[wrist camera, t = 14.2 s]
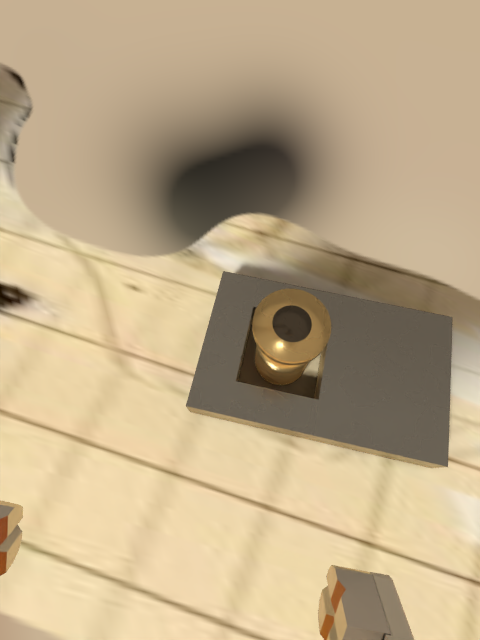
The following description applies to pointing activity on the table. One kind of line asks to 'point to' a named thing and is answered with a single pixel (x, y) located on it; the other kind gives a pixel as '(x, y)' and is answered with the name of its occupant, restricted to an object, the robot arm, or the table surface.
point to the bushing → (289, 334)
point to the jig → (337, 376)
